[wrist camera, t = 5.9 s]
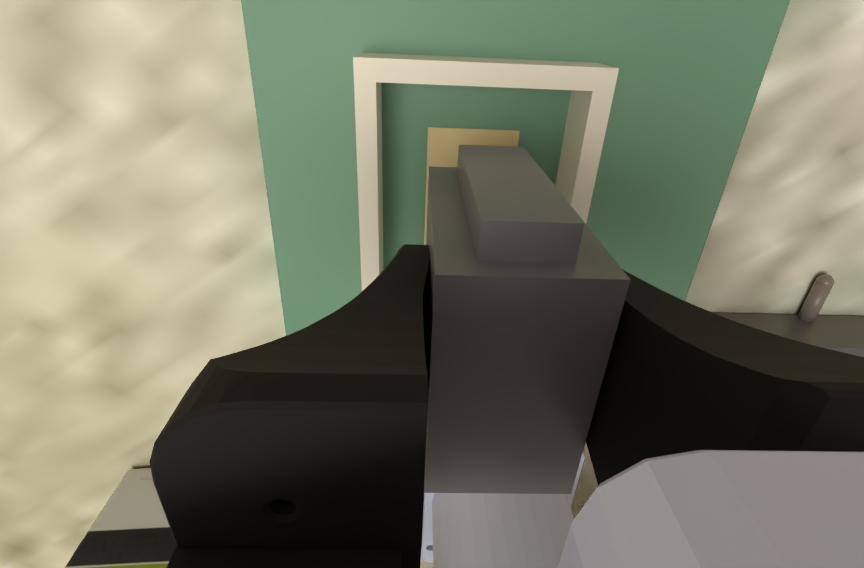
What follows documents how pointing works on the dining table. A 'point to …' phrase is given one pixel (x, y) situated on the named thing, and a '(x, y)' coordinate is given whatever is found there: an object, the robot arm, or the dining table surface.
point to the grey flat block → (811, 323)
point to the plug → (512, 326)
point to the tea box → (128, 529)
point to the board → (497, 122)
